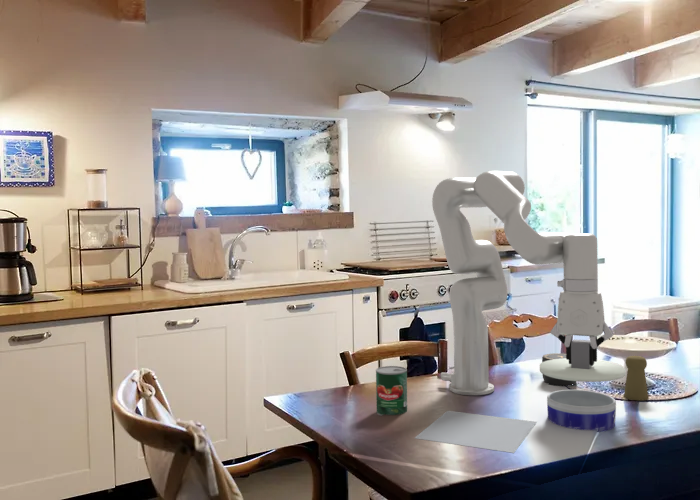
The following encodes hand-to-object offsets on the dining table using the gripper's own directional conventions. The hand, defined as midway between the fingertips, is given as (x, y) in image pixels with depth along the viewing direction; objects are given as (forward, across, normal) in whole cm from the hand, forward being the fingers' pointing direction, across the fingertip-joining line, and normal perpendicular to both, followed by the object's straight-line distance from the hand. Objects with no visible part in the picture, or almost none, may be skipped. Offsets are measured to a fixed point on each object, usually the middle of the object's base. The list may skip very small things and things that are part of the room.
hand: (581, 362), depth 154 cm
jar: (+14, -11, +35) cm, 40 cm away
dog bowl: (+15, 0, 0) cm, 15 cm away
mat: (+14, -20, -17) cm, 30 cm away
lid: (+2, 0, 0) cm, 2 cm away
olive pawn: (+14, +10, +27) cm, 32 cm away
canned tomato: (+14, -44, -11) cm, 48 cm away
